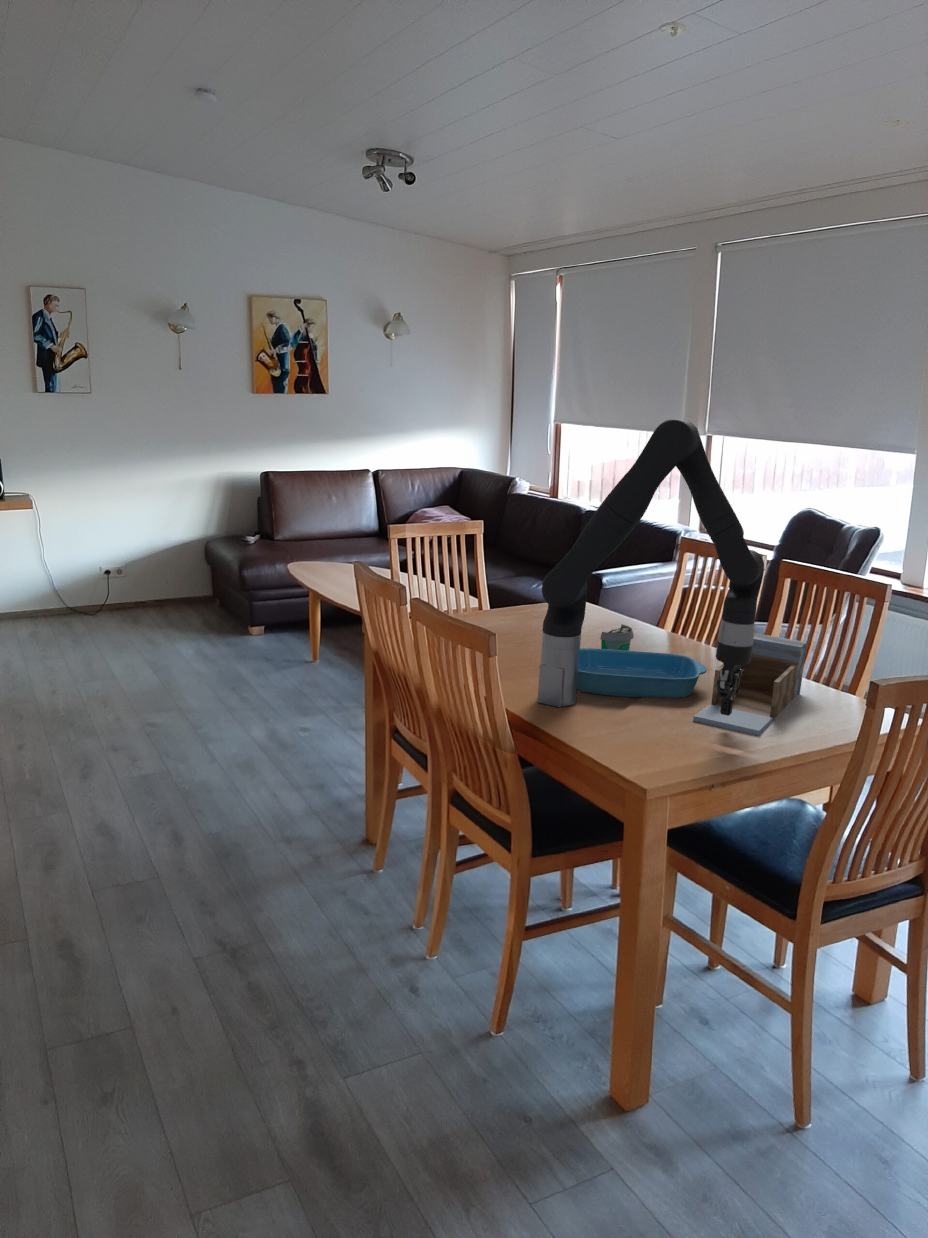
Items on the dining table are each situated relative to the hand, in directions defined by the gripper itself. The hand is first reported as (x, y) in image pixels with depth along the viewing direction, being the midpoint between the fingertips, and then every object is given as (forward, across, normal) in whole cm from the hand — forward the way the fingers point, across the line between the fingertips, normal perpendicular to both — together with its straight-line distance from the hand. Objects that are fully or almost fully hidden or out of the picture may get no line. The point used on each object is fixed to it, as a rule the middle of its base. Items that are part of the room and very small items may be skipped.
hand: (725, 714), depth 213 cm
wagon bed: (+4, +26, 0) cm, 26 cm away
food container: (+5, +33, +40) cm, 52 cm away
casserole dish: (+5, +17, +30) cm, 34 cm away
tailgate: (+3, +12, 0) cm, 13 cm away
